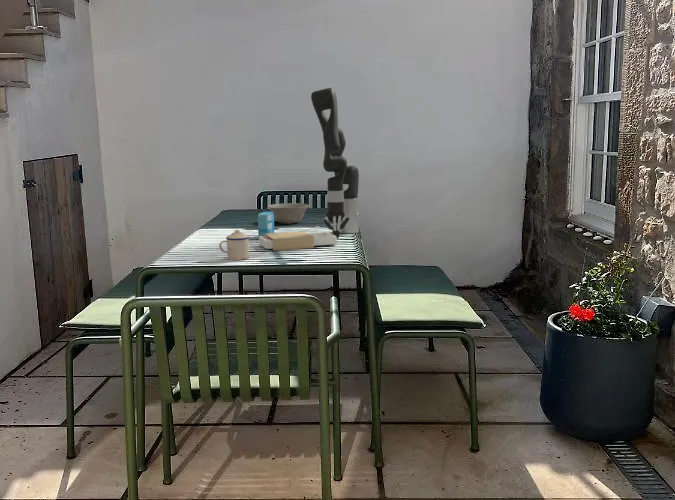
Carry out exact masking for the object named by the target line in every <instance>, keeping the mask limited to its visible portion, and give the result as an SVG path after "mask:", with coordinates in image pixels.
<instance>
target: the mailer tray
mask: <svg viewBox="0 0 675 500" xmlns="http://www.w3.org/2000/svg"><path fill="white" fill-rule="evenodd" d="M307 233H308V234H310V235H312V236H314V247H315V246H327V245H328V246H329V245H331V246H332V245H337V244H338V242H337V241H338V239H337V236H335V235H333V234H332V233H331V232H328V231H323V232H321V231H320V232H307ZM258 244H259V245H260V246H262V247H263V248H265V249H266V250H270V249H271V250H273V249H272V248H273V239H271V238H270V237H268V236H259V237H258Z"/></svg>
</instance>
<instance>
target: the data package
mask: <svg viewBox="0 0 675 500" xmlns="http://www.w3.org/2000/svg"><path fill="white" fill-rule="evenodd" d="M257 229H258V230H257V231H258V233H257V234H258V236H257V237H258V238H259V236H265V234H268V233H275V218H274V213H273V212H271V211H263V212H260V213H258V215H257Z"/></svg>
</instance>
